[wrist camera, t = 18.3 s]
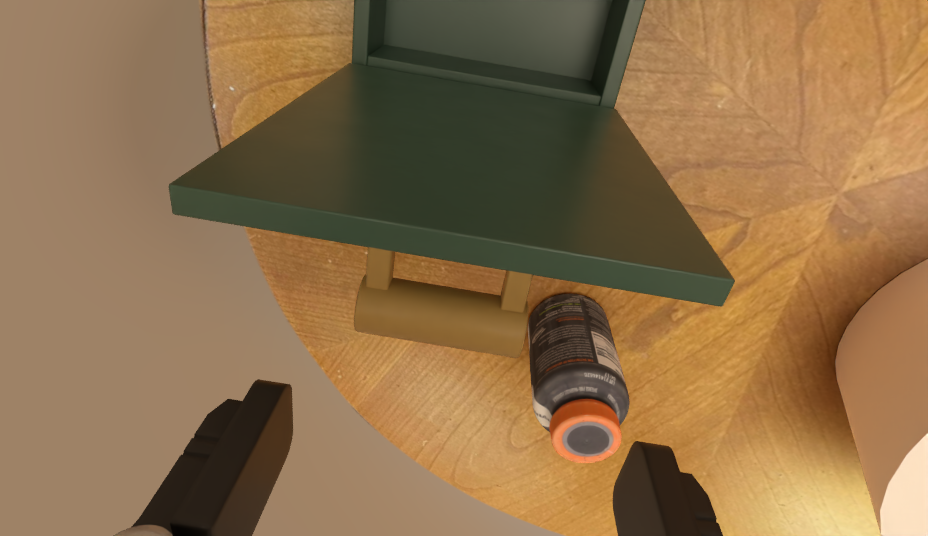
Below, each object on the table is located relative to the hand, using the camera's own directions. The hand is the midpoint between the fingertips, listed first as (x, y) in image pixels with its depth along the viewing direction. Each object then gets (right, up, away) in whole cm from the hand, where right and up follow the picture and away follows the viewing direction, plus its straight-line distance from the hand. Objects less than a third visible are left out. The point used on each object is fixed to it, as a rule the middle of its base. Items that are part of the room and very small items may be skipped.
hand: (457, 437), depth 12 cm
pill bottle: (+8, 0, +28) cm, 29 cm away
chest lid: (+1, +9, +7) cm, 11 cm away
